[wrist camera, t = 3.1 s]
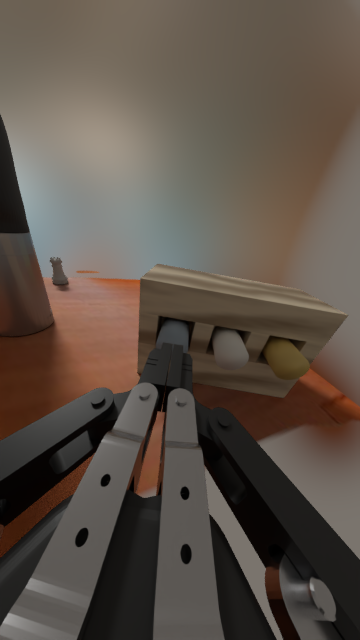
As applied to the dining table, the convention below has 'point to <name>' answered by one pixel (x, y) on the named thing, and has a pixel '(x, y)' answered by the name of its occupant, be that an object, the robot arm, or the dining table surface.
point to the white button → (228, 348)
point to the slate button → (174, 333)
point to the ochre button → (284, 358)
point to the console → (233, 323)
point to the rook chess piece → (58, 272)
